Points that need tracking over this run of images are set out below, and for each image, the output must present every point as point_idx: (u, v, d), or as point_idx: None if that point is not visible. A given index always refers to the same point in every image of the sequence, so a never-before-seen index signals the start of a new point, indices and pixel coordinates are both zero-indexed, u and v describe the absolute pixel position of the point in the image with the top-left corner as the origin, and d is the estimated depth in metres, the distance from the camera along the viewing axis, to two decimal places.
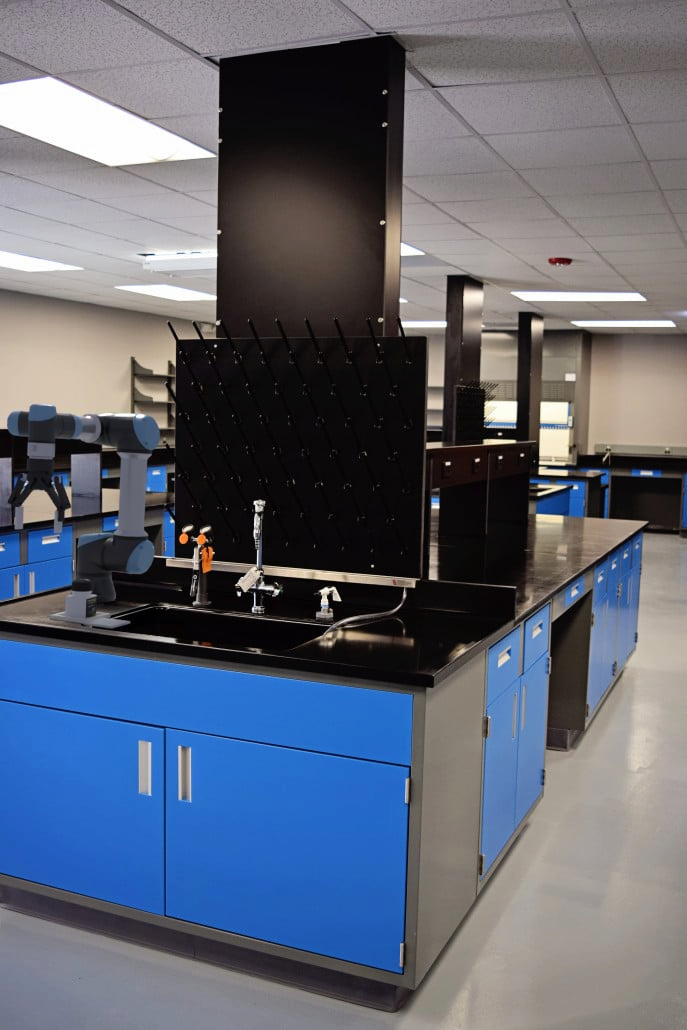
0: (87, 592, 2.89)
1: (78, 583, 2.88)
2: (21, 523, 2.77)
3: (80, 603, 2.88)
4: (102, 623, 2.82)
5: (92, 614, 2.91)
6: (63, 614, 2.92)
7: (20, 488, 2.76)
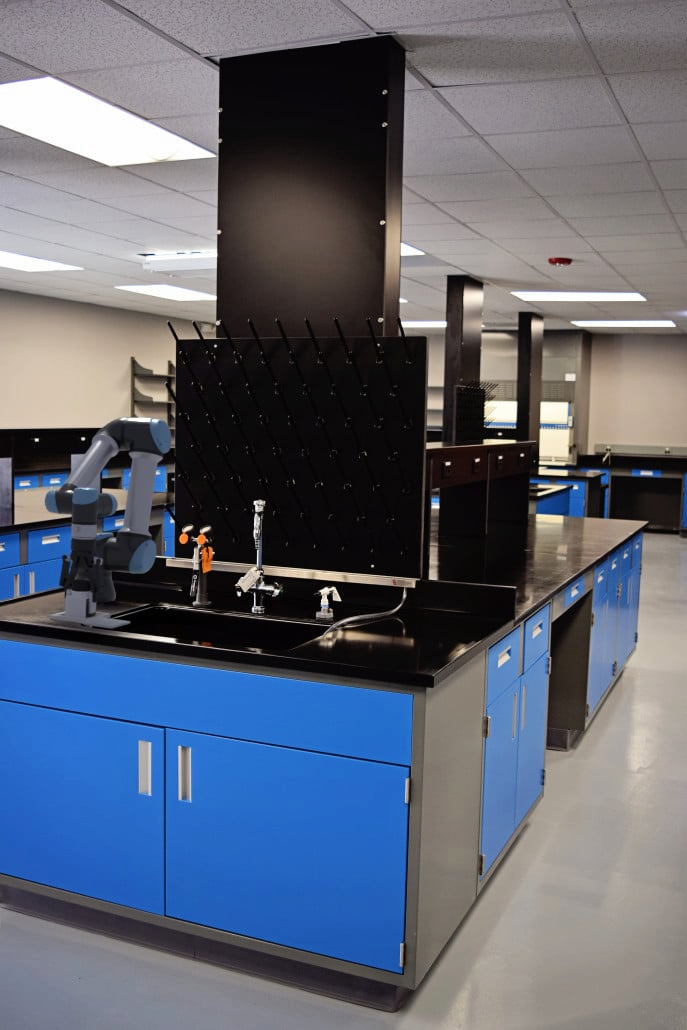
0: (87, 592, 2.89)
1: (78, 582, 2.88)
2: None
3: (80, 603, 2.88)
4: (102, 623, 2.82)
5: (92, 614, 2.91)
6: (63, 614, 2.92)
7: (67, 569, 2.93)
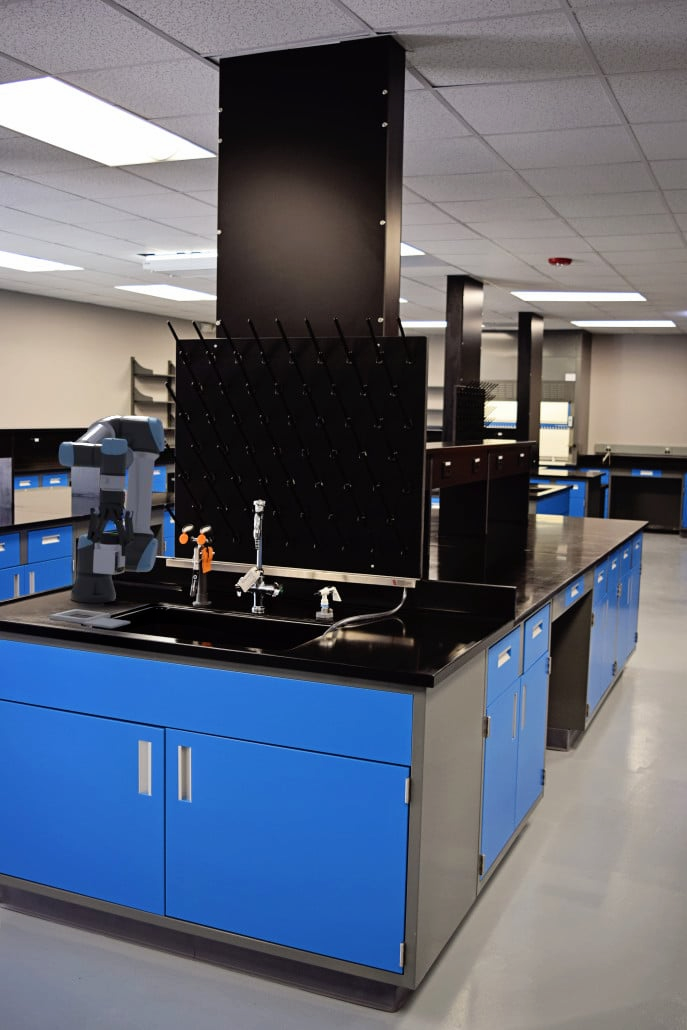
0: (116, 545, 2.82)
1: (107, 535, 2.80)
2: None
3: (109, 556, 2.80)
4: (102, 623, 2.82)
5: (120, 568, 2.84)
6: (63, 614, 2.92)
7: (95, 522, 2.85)
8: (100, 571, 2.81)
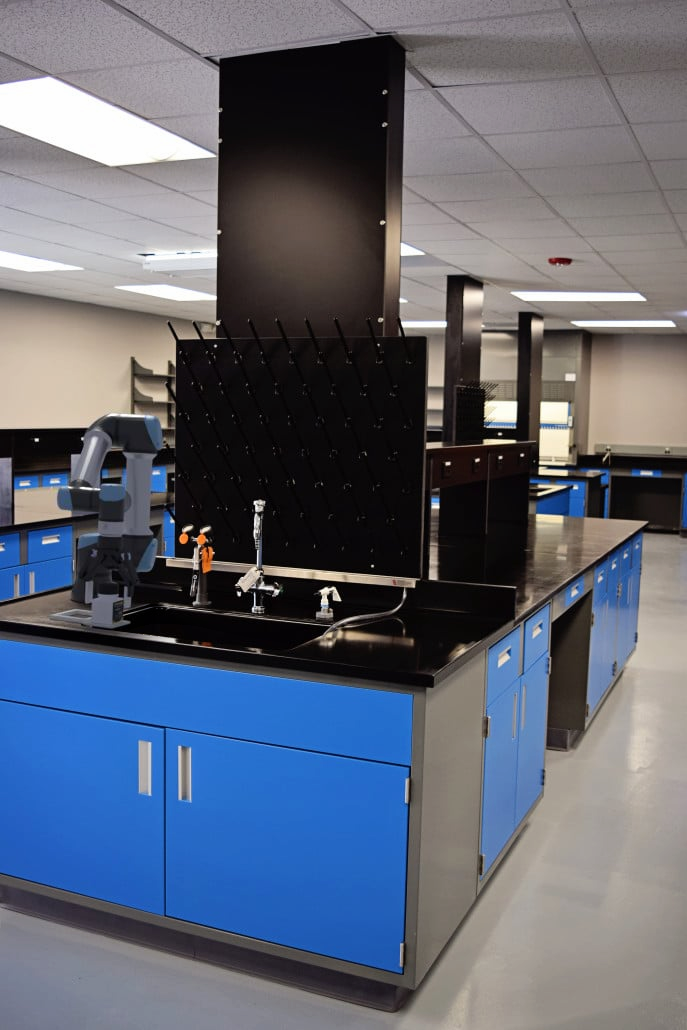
0: (114, 595, 2.83)
1: (105, 585, 2.82)
2: (91, 597, 2.88)
3: (107, 607, 2.81)
4: None
5: (118, 618, 2.85)
6: (63, 614, 2.92)
7: (90, 564, 2.86)
8: (98, 621, 2.82)
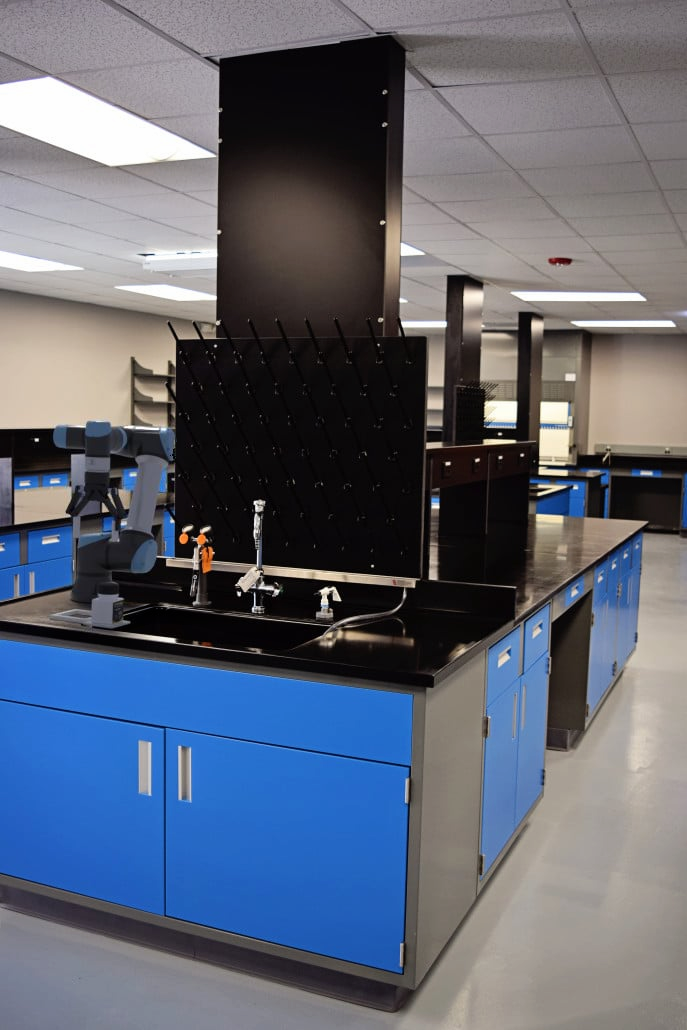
0: (114, 595, 2.83)
1: (105, 585, 2.82)
2: (78, 532, 2.95)
3: (107, 607, 2.81)
4: None
5: (118, 618, 2.85)
6: (63, 614, 2.92)
7: (77, 499, 2.93)
8: (98, 621, 2.82)
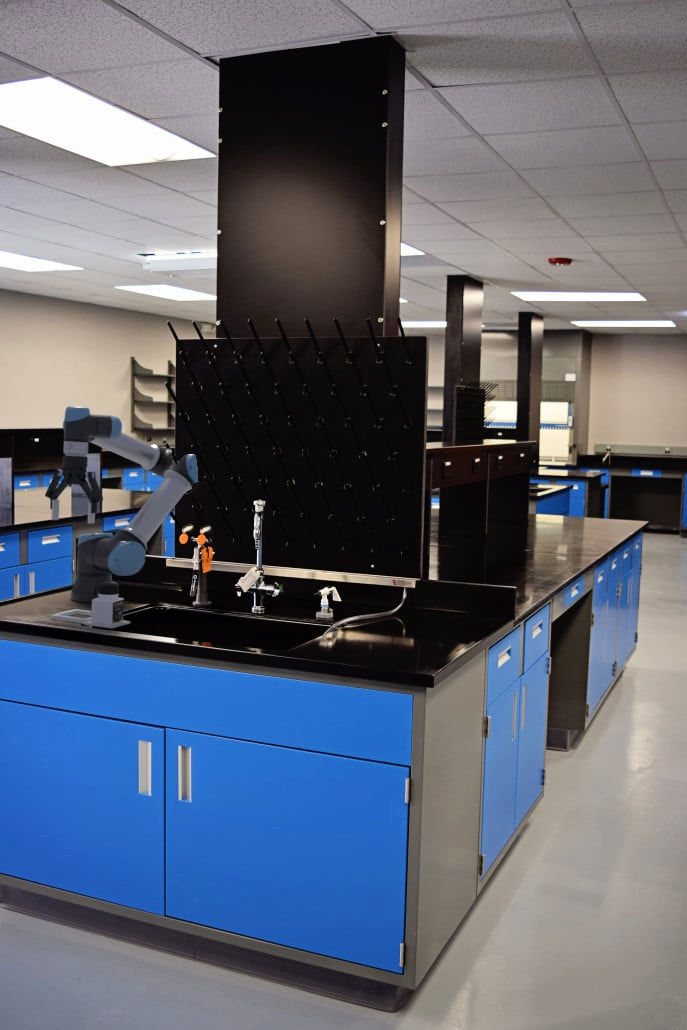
0: (114, 595, 2.83)
1: (105, 585, 2.82)
2: (57, 515, 3.04)
3: (107, 607, 2.81)
4: None
5: (118, 618, 2.85)
6: (63, 614, 2.92)
7: (56, 483, 3.03)
8: (98, 621, 2.82)
